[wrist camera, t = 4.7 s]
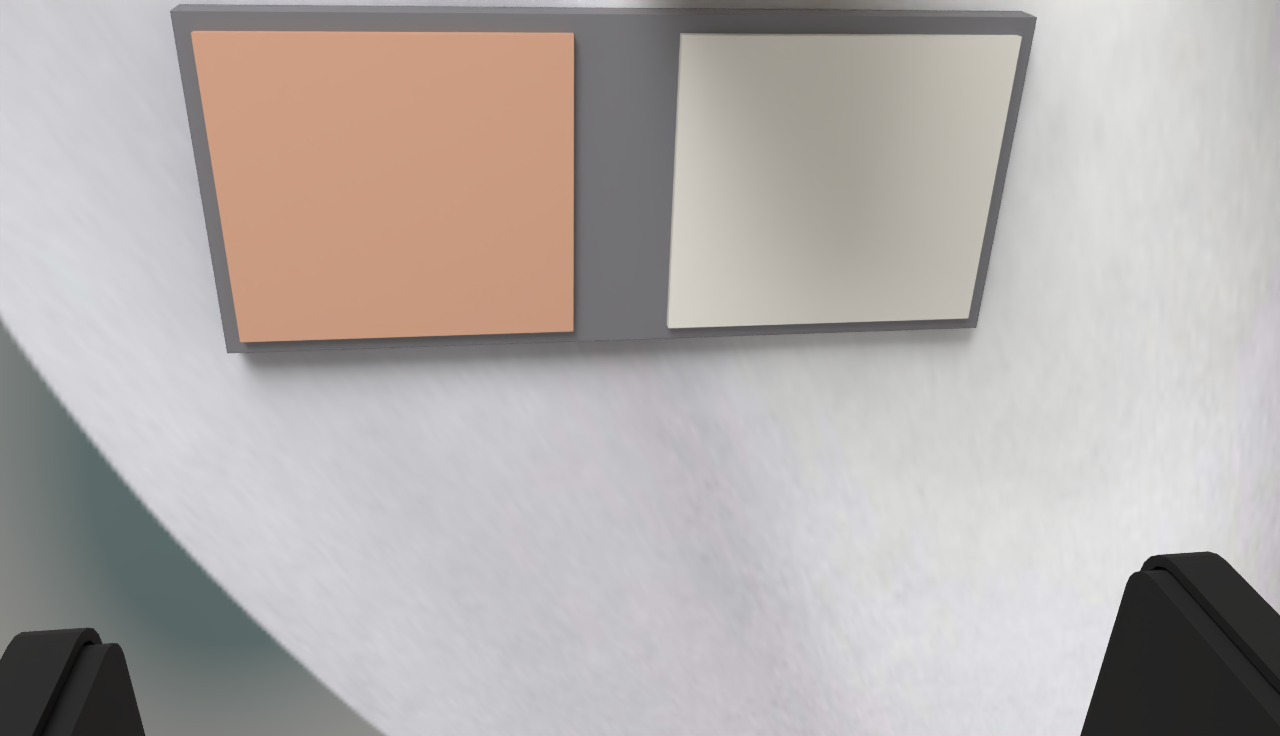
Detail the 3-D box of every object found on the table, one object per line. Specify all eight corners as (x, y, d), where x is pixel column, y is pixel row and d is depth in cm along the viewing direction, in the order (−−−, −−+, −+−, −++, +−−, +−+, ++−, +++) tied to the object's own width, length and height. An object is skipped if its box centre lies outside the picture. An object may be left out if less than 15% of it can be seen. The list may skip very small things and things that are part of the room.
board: (1021, 11, 32) (1041, 19, 31) (964, 315, 37) (980, 331, 36) (179, 4, 29) (167, 12, 28) (233, 338, 33) (225, 358, 32)
